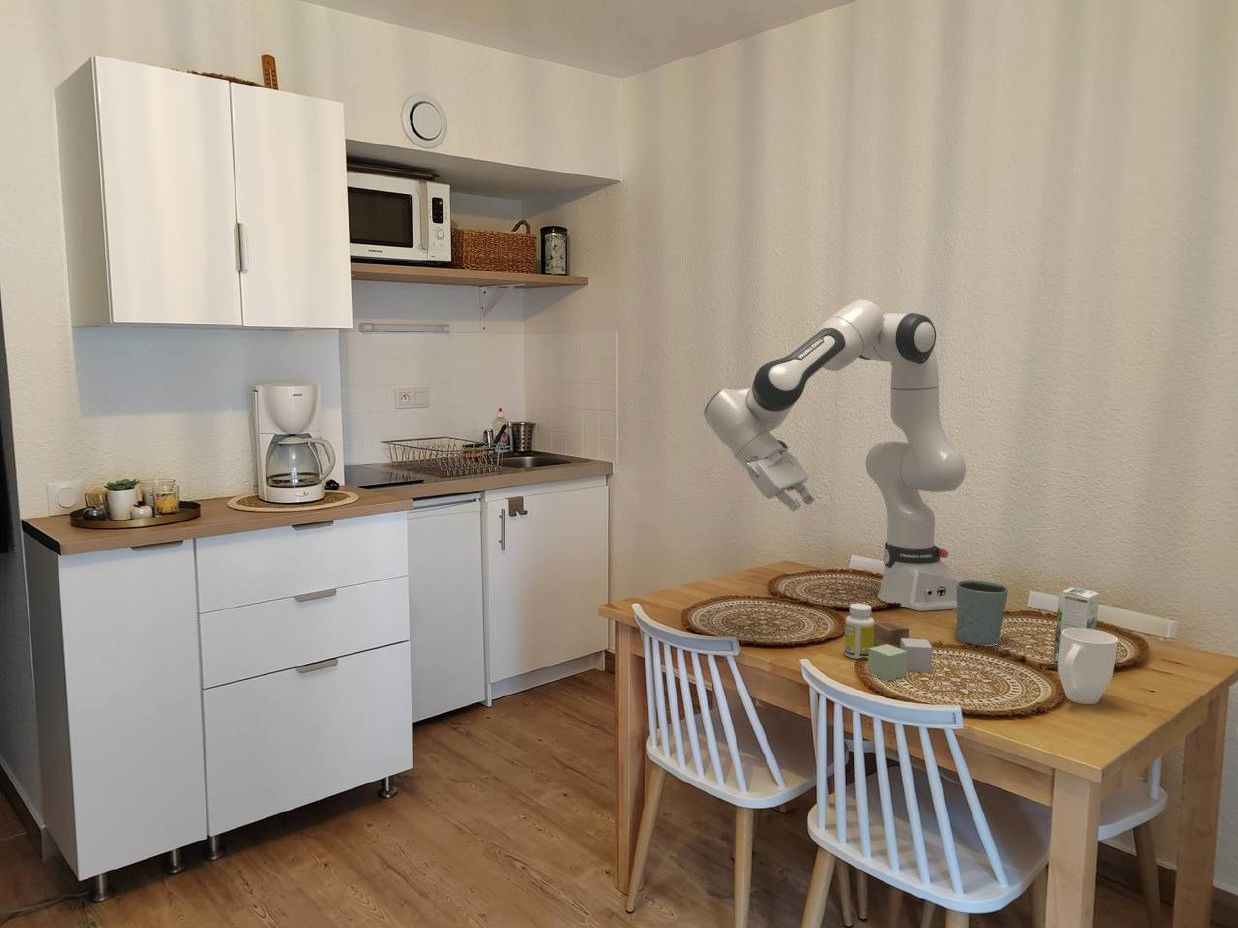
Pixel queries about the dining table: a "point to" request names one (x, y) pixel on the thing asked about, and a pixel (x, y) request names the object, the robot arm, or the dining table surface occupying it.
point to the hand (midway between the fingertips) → (804, 505)
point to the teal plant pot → (980, 611)
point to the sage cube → (887, 662)
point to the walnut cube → (889, 634)
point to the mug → (1086, 663)
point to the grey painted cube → (917, 654)
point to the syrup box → (1075, 612)
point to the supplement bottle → (859, 631)
